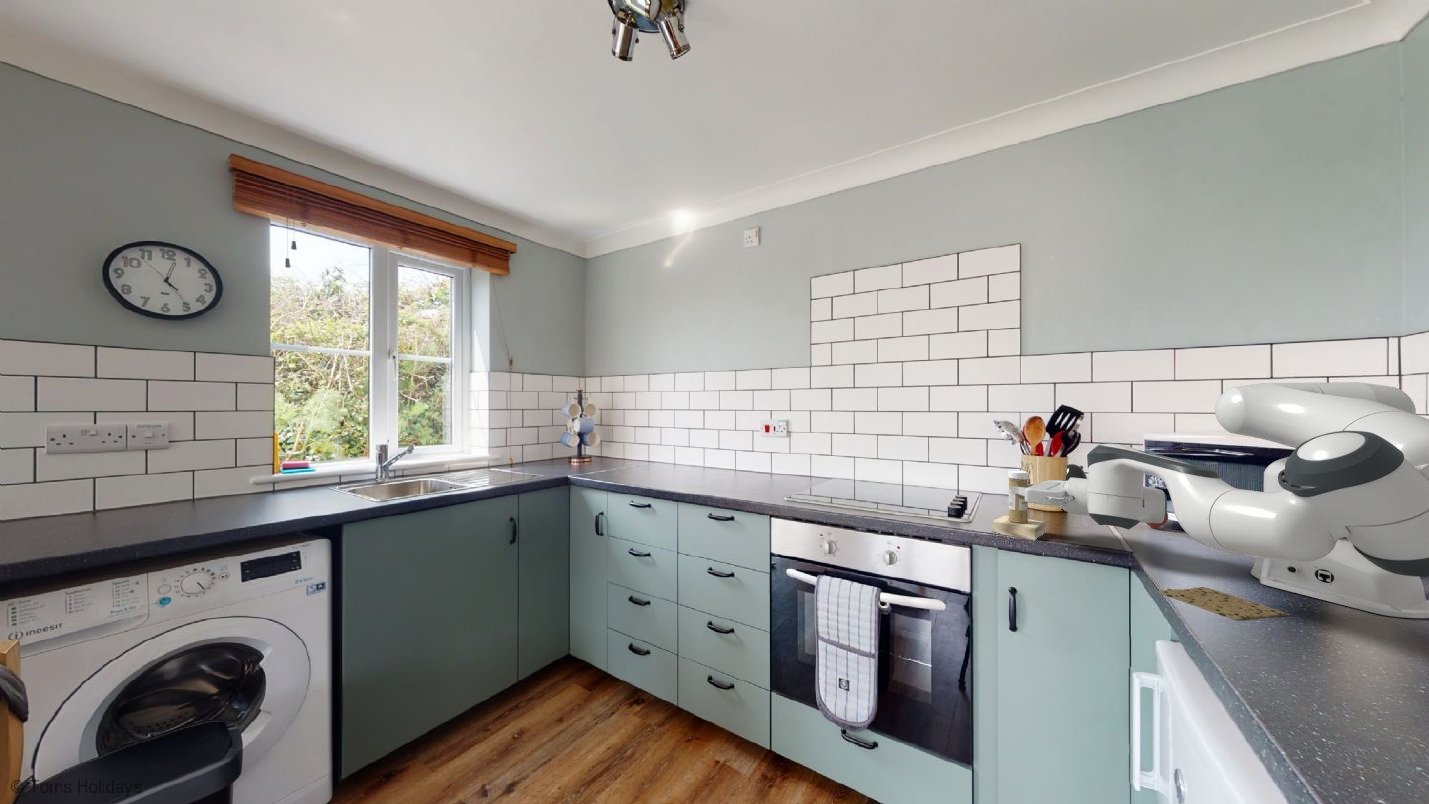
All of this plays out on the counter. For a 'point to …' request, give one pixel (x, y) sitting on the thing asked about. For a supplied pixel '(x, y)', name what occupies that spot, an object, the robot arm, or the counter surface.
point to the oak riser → (1019, 528)
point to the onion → (1156, 525)
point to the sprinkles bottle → (1017, 497)
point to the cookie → (1223, 603)
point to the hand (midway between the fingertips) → (1014, 488)
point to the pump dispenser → (1074, 474)
